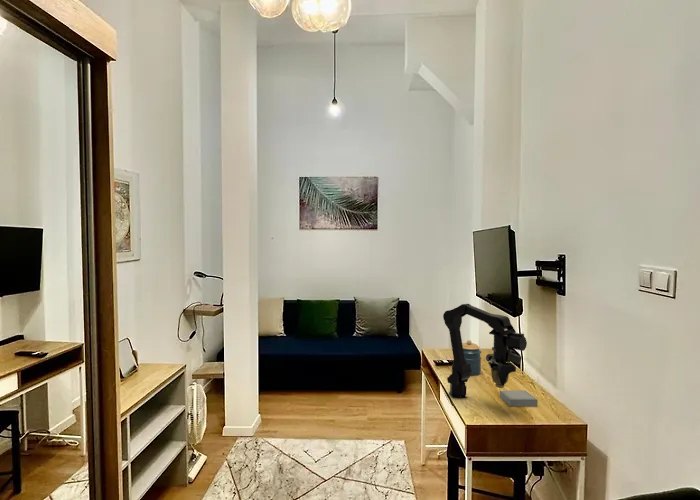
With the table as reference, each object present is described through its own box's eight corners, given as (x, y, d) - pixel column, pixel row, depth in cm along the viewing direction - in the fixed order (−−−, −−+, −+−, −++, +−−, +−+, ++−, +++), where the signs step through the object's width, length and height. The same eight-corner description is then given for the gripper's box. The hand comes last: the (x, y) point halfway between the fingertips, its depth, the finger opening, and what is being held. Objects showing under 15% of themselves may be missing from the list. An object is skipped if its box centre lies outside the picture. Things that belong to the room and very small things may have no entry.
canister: (455, 374, 240) (455, 341, 240) (457, 368, 252) (458, 337, 252) (480, 377, 236) (481, 343, 236) (481, 370, 248) (482, 338, 248)
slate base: (510, 406, 193) (510, 399, 193) (499, 397, 205) (499, 390, 205) (537, 406, 194) (537, 399, 194) (525, 396, 206) (525, 390, 206)
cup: (486, 385, 192) (487, 366, 192) (501, 383, 194) (501, 365, 194) (498, 390, 185) (498, 371, 185) (512, 389, 187) (513, 369, 187)
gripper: (529, 351, 180) (528, 390, 180) (510, 341, 199) (509, 376, 199) (501, 351, 180) (500, 390, 180) (485, 341, 198) (485, 376, 199)
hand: (499, 382), depth 189 cm, fingers closed on cup, 6 cm apart
